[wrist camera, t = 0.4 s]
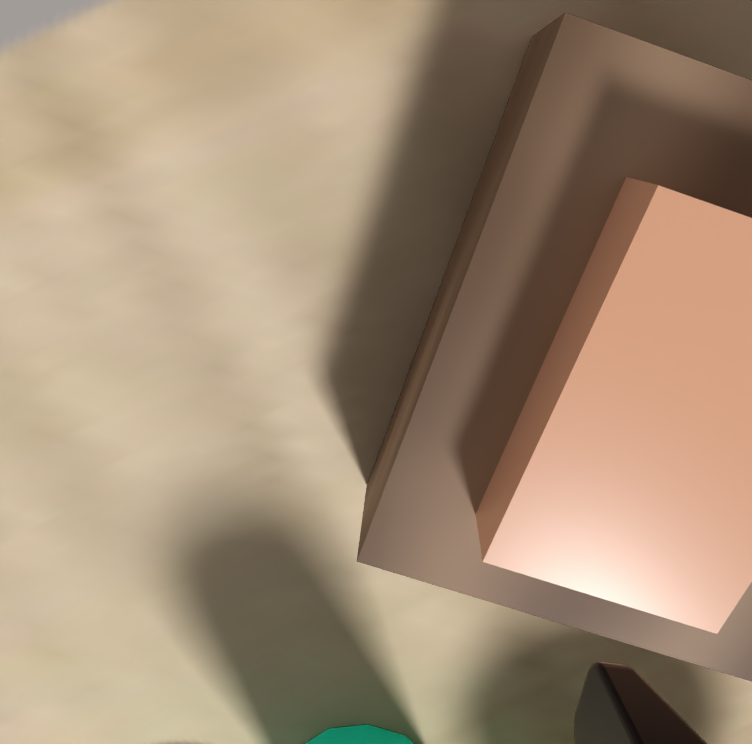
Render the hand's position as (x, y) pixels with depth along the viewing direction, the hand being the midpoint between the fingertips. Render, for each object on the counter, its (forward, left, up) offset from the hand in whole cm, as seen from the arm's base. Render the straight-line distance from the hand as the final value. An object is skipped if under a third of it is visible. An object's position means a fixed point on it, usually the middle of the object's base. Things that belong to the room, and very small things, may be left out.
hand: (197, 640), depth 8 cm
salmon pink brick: (-8, -2, -9) cm, 12 cm away
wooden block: (-9, -2, -13) cm, 16 cm away
